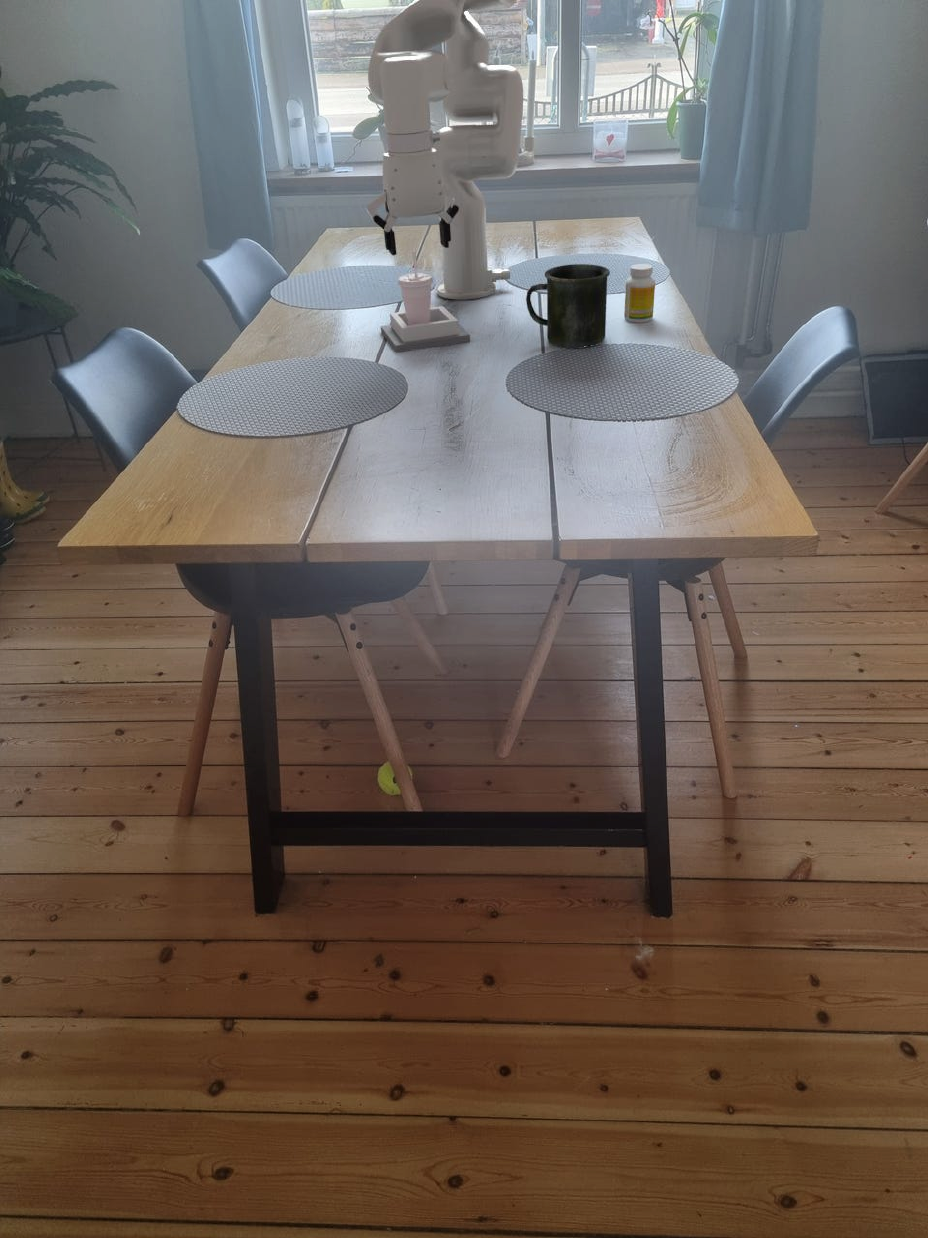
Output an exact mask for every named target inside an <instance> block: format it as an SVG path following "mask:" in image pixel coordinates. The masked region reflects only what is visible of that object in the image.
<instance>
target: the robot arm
mask: <svg viewBox="0 0 928 1238" xmlns="http://www.w3.org/2000/svg"><path fill="white" fill-rule="evenodd" d="M517 1H518V0H413V2H411V3H410V4H408V5H407V6H406V7H404V8H403V9H402V10H400V12H398V13H397V14H396V15H395V16H394V17H392V18H391V19H390V20H389V21H388V22H387V23H386V24H385V25H384V26H383V27H382V28H381V30H380V31H379V33H378V34H377V36H376V39H375V42H374V45H373V48H372V51H371V55H370V59H369V64H368V68H367V69H368V70H367V72H368V73H367V81H368V87H369V90H370V93H371V95H372V96H373V98H374V99H375V100H376V101H378V102H380V103H382V106H383V115H384V116H383V117H384V122H385V123H384V124H385V133H386V144H387V146H386V147H387V152H386V153H383V158H382V188H383V189H382V192H381V193H379V195H377V196H376V197H375V198H373V199H372V200H371V201H369V202H368V203H367V204H365V205H364V207H365V210H366V211H367V213H368V214H369V216H370V217H371V220H372V221H373V222H375V224H376V225H378V227H380V228H382V230H383V237H384V244H385V246H384V247H385V250H387V251H388V252H389V254H391V256H396V255H397V246H396V234H395V231H394V230H393V226H395V225H396V222H397V220H399V219H409V218H415V217H416V218H417V217H423V216H425V217H426V216H432V215H436V214H437V216H438V217H439V222H438V226H439V239H440V245H441V259H442V276H443V283H441V284H440V285H438V287H437V288H436V293H437V295H438V296H439V297H440V298H444V299H448V300H462V301H463V300H472V299H473V300H474V299H475V300H476V299H481V298H485V297H488V296H491V295H493V294H495V292H496V291H497V290H496V289H497V286H496V282H497V281H505V280H510V279H511V272H510V271H511V270H509V269H502V270H501V269H500V268H498V269H491V268H490V267H489V266H488V240H487V238H488V237H487V217H486V216H487V213H486V202H485V201H486V200H485V198H484V195H483V194H482V192H481V190H480V189H479V187H478V186H477V185H476V183H475V181H476V180H497V179H498V180H499V179H508V178H510V177H513V175H514V174H515V173H516V171H517V169H518V166H519V165H518V164H519V160H520V150H521V149H520V148H521V137H522V126H523V125H522V124H523V115H524V114H523V112H524V85H523V79H522V76H521V74H520V72H519V71H518V70H517V69H516V68H515V67H514V66H511V65H507V64H506V65H505V64H503V65H502V64H501V65H489V57H490V56H489V55H490V43H489V39H488V37H487V35H486V34H485V32H484V30H483V29H482V27H481V25H479V23H478V22H477V21H476V20H475V19H474V18H473V17H472V15H471V14H470V13H469V12H470V11H474V12H477V11H488V10H489V11H491V10H504V9H509V8H511V7H514V5H515V4H516V3H517ZM443 43H445V53H443V52H442V51H440V50H431V49H432V48H434V47H437V46H438V45H441V44H443ZM440 101H441V102H442V108H443V109H442V110H443V113H444V115H445V117H446V118H447V119H449V120H450V121H453V122H457V123H495V124H458V125H456V124H455V125H449V126H444V127H442V128H440V129H438V130H437V131H436V132H435V131H433V129H432V125H431V111H430V110H431V109H430V103H438V102H440ZM383 204H384V205H383ZM382 205H383V206H384V210H385V212H386V214H385V217H384V218H382V217H381V216H380V215H379V213H378V211H377V210H378V208H379V207H381V206H382Z"/></svg>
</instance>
